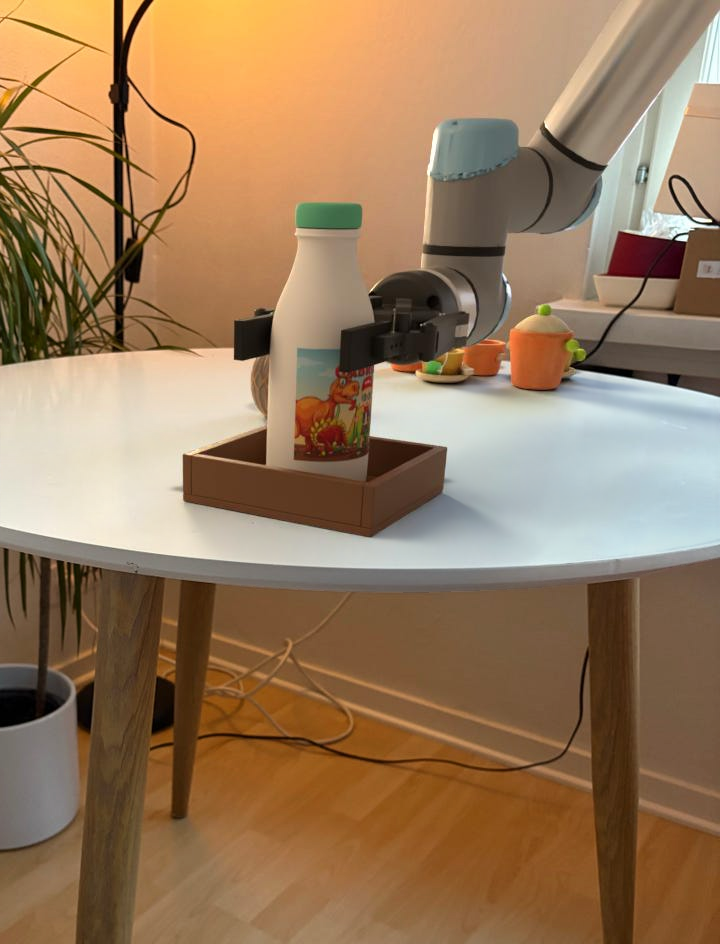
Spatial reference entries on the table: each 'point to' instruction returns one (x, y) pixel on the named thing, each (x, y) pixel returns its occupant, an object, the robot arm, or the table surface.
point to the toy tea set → (512, 355)
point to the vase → (260, 383)
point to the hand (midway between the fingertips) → (290, 346)
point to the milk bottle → (320, 350)
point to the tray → (315, 484)
